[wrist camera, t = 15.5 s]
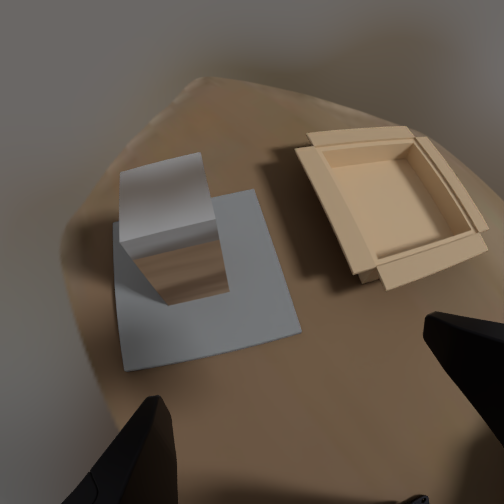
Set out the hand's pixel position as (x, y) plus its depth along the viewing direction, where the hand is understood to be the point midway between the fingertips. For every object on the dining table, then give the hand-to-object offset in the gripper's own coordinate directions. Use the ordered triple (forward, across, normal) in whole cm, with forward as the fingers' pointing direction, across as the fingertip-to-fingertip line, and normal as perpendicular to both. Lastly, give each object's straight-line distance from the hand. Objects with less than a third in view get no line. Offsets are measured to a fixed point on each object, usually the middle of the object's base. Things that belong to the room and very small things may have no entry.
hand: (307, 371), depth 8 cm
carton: (+18, -16, +1) cm, 24 cm away
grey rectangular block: (+17, +4, +2) cm, 17 cm away
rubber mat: (+17, +4, +2) cm, 18 cm away
